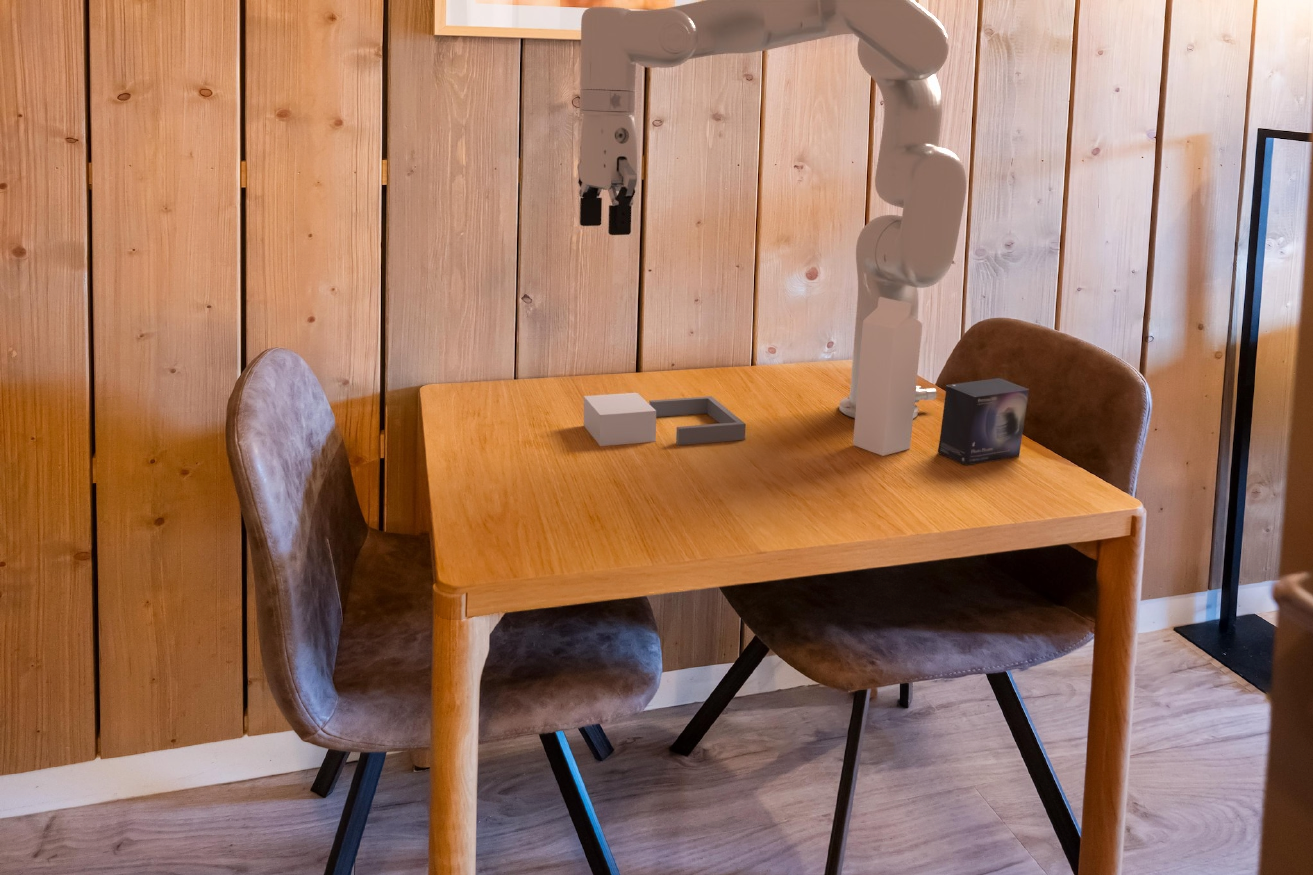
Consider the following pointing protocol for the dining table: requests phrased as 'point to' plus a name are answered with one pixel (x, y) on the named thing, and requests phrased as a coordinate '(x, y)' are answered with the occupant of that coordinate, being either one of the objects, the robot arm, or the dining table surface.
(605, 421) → the carton
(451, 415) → the dining table surface
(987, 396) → the small box
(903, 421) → the milk
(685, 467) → the dining table surface
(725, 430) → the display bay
